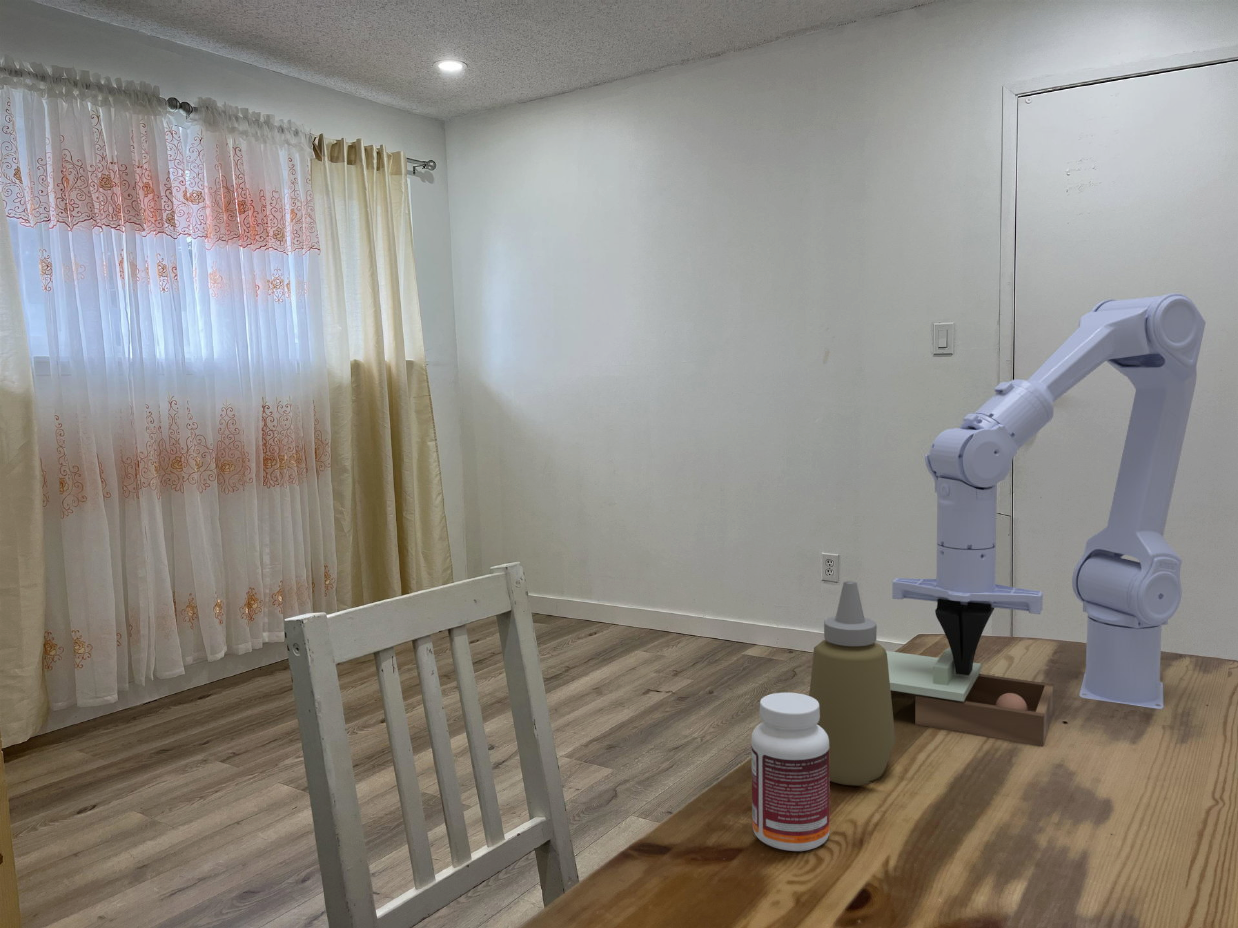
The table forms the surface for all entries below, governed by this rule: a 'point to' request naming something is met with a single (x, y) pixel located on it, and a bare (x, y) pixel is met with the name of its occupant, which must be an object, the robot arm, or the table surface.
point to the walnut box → (992, 711)
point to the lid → (929, 675)
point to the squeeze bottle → (853, 693)
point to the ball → (1011, 701)
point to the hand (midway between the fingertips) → (963, 671)
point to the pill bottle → (790, 774)
